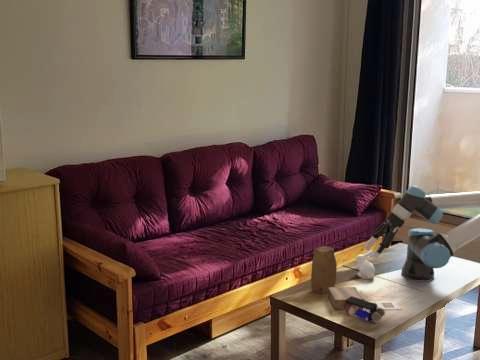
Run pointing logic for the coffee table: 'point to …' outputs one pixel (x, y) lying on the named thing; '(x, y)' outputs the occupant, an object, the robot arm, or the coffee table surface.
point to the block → (323, 269)
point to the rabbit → (365, 266)
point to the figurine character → (354, 311)
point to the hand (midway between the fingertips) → (369, 253)
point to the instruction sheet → (386, 305)
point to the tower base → (342, 297)
